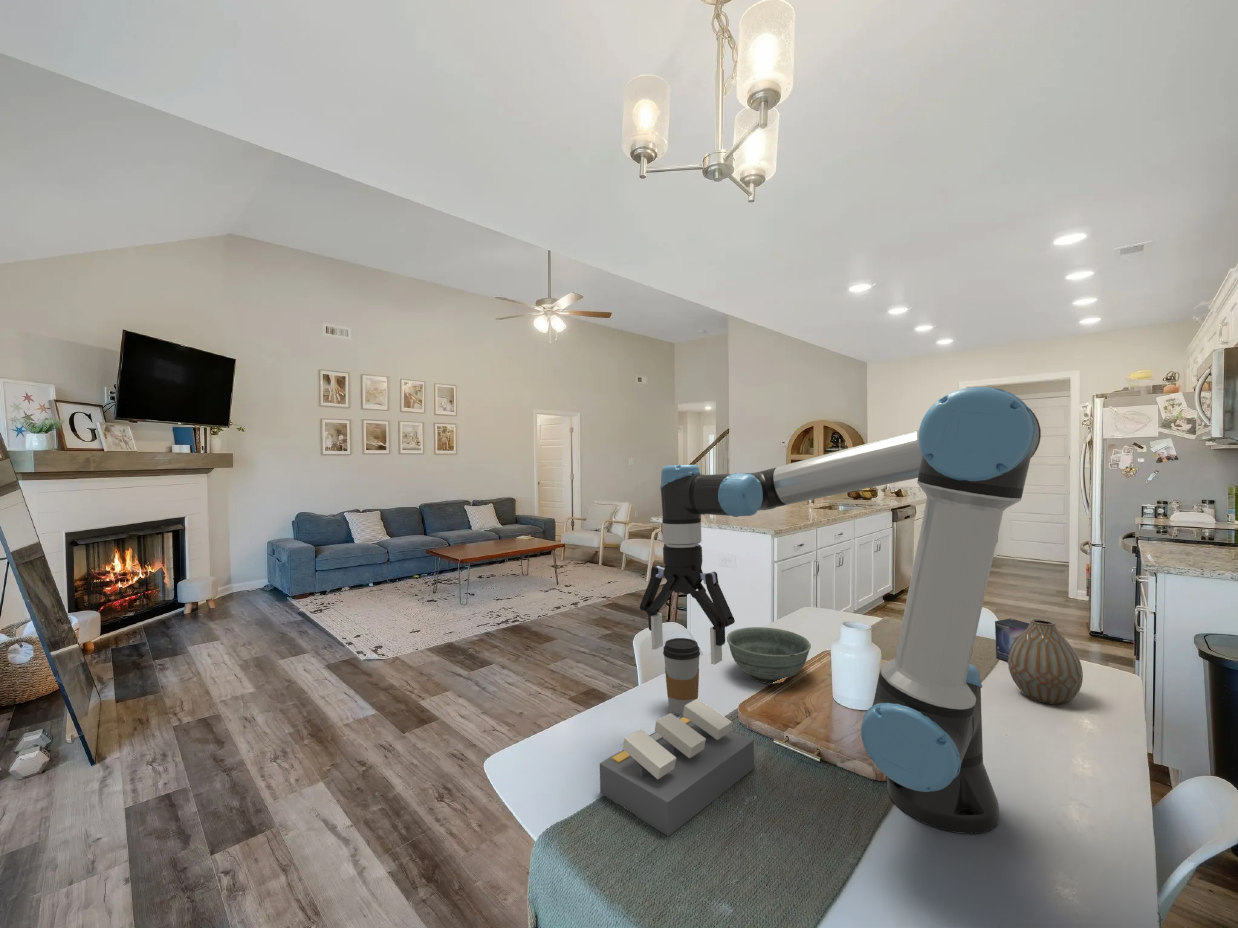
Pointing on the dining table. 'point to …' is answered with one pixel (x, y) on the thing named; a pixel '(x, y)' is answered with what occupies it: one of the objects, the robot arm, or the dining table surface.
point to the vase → (1045, 664)
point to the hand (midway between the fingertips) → (685, 654)
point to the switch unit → (677, 779)
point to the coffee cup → (681, 672)
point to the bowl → (768, 652)
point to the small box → (1007, 636)
